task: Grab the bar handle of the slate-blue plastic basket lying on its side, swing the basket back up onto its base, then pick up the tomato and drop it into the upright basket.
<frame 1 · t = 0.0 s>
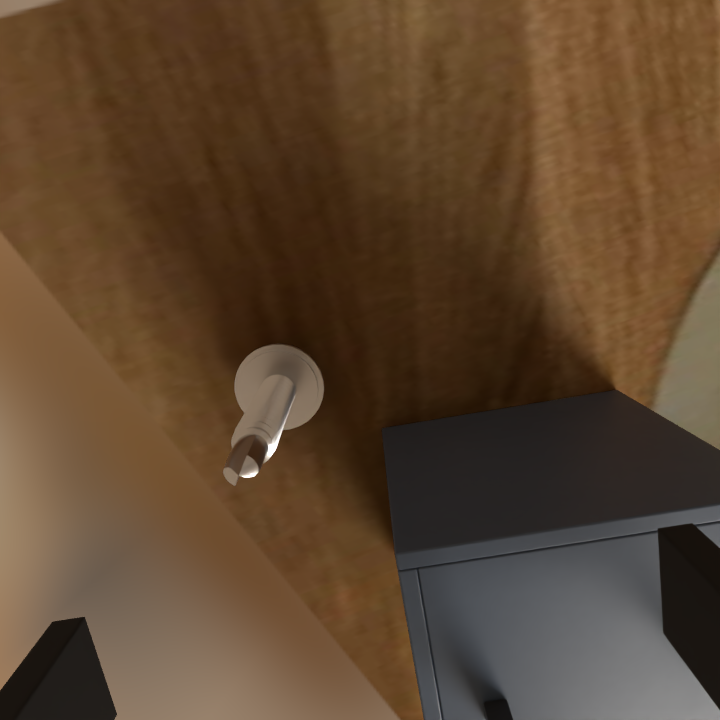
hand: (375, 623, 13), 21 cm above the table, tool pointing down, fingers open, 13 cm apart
basket: (572, 585, 24), point 11 cm above the table, hinge at 88.0°
screw: (284, 376, 33), on the table
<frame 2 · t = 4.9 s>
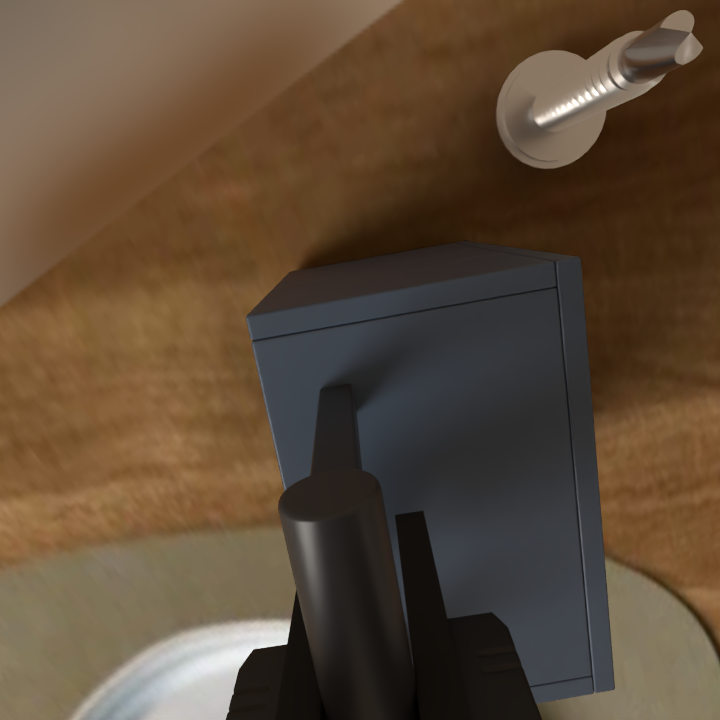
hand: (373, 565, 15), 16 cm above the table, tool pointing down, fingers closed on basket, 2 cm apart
basket: (431, 476, 20), point 11 cm above the table, hinge at 88.1°, touching gripper
screw: (535, 119, 27), on the table
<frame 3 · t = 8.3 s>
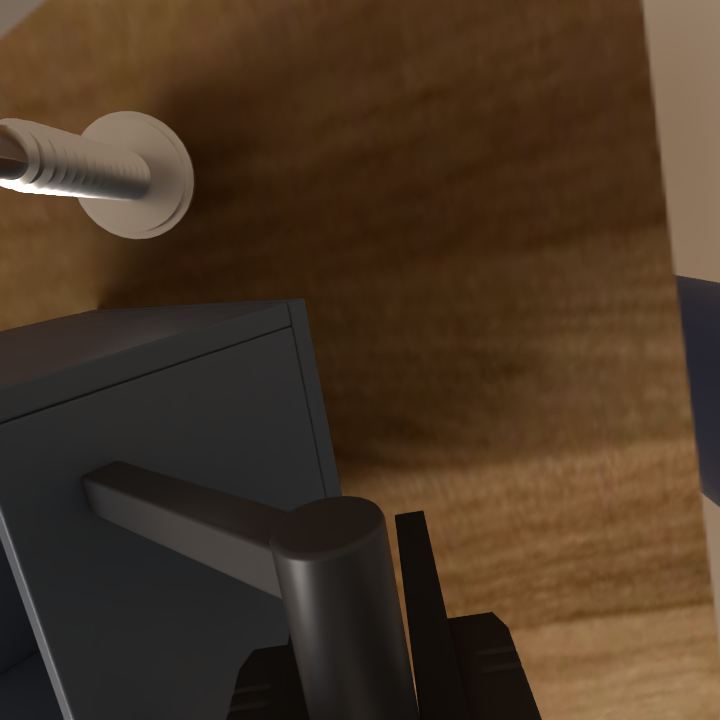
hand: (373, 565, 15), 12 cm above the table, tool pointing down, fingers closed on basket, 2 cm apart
basket: (174, 557, 17), point 10 cm above the table, hinge at 40.1°, touching gripper
screw: (153, 180, 25), on the table
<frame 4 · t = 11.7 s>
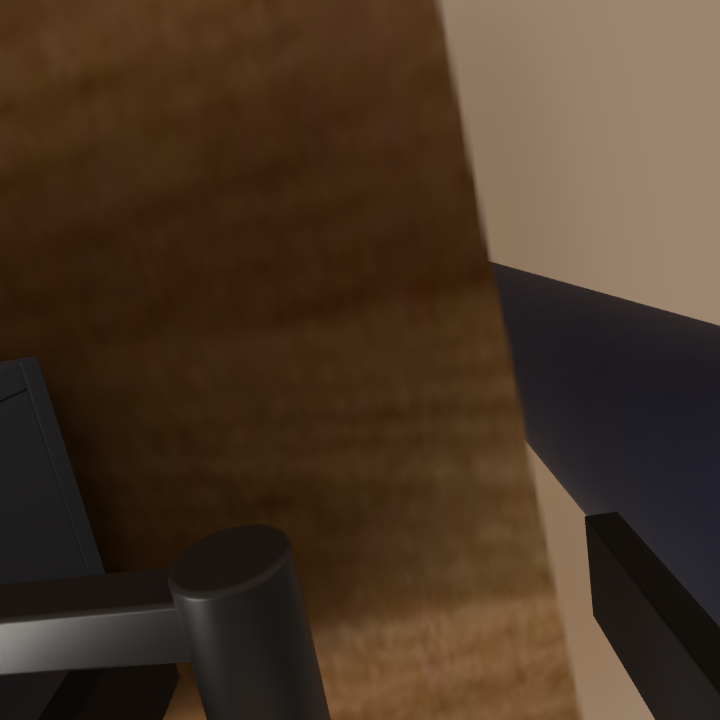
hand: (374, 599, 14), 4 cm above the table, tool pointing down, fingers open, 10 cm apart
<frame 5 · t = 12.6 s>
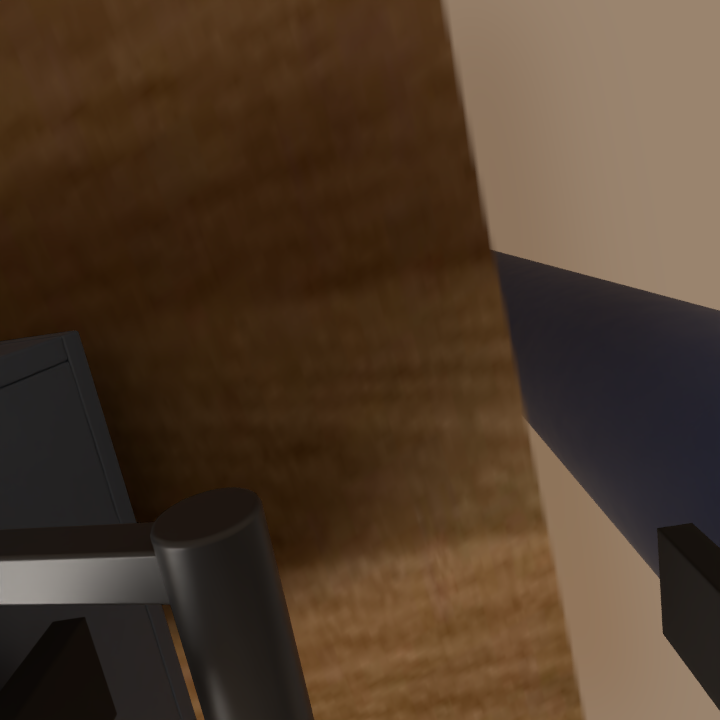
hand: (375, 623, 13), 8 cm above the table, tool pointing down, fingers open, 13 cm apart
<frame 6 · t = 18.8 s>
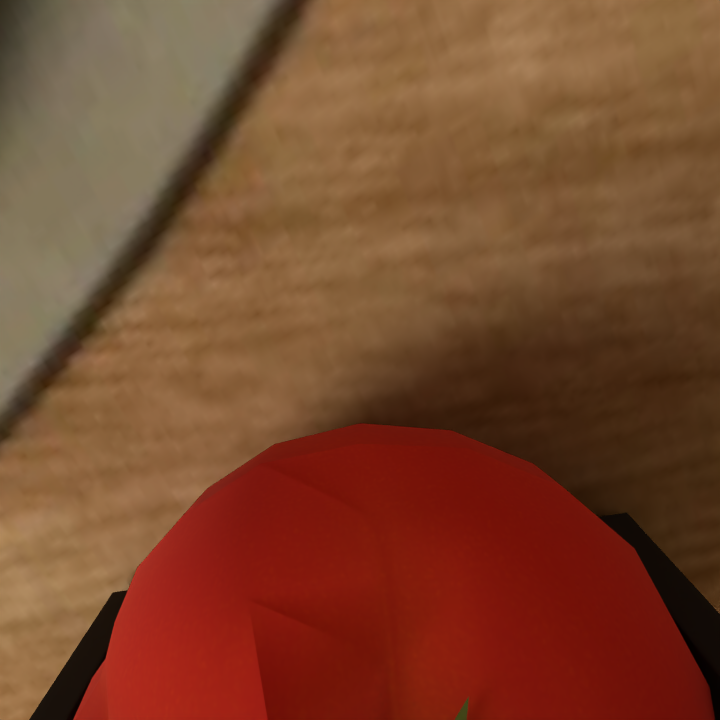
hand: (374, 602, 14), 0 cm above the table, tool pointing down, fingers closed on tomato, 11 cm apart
tomato: (371, 590, 14), on the table, touching gripper
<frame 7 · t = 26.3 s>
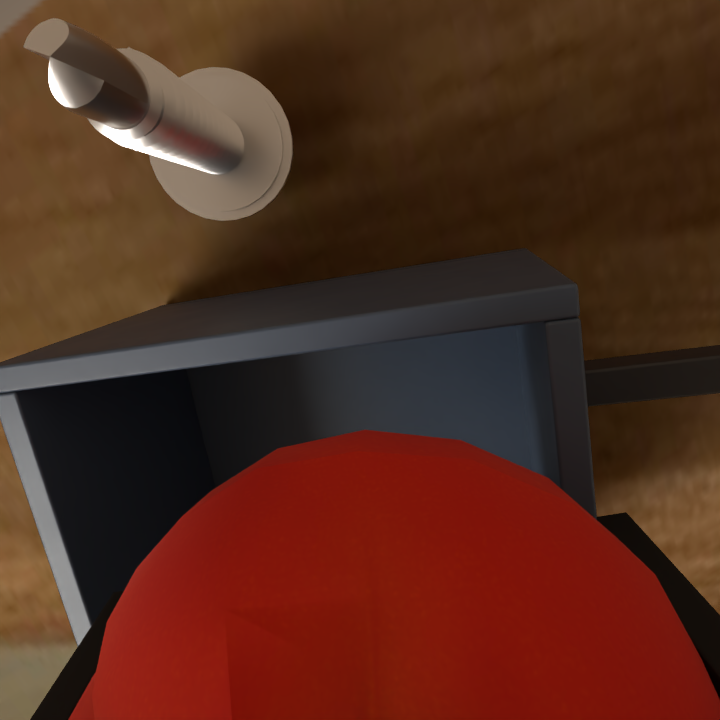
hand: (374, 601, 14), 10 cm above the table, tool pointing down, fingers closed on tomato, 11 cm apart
basket: (464, 500, 18), point 6 cm above the table, hinge at 9.8°
screw: (234, 153, 21), on the table
tomato: (385, 601, 14), point 10 cm above the table, touching gripper
when the fingers open (10 cm above the table, at t = 26.8 s): tomato drops 4 cm, resting on basket.
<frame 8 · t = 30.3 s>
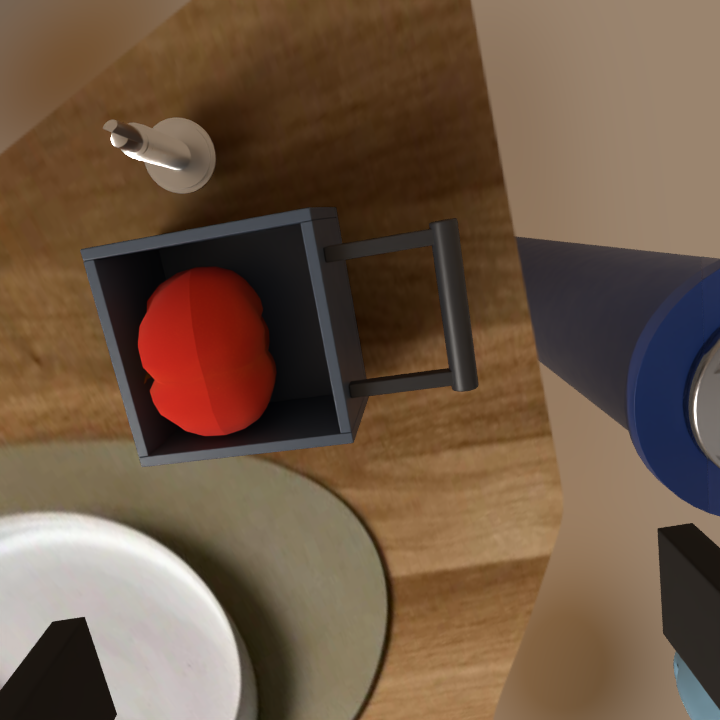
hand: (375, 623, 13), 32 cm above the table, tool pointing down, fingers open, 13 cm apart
basket: (299, 323, 38), point 6 cm above the table, hinge at 7.2°, touching tomato
screw: (189, 159, 41), on the table
tomato: (273, 340, 37), point 6 cm above the table, touching basket
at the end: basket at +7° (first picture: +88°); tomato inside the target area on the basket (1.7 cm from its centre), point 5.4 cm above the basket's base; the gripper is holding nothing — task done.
